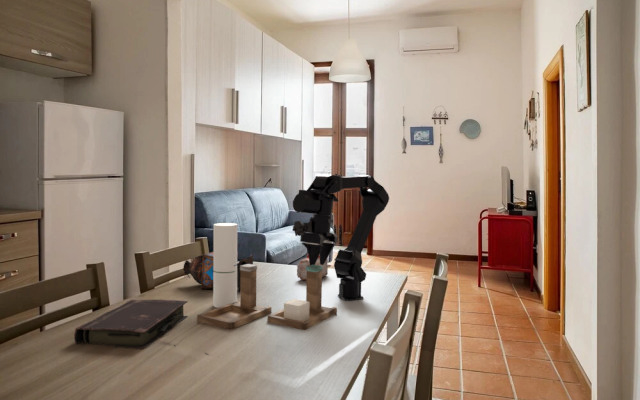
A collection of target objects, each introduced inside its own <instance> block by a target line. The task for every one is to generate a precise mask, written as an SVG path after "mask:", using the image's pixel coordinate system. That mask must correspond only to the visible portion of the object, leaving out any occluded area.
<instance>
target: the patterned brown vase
mask: <svg viewBox="0 0 640 400" xmlns="http://www.w3.org/2000/svg"><path fill="white" fill-rule="evenodd" d="M213 262H214V251H212V252H208V253H204V254H203V253H202V254H201V255H198V256H196V257H195V258H193V260H192V261H190V260H186V259H185V262H184V264H183V268H182V269H183V271H184V274H185V275H186V276H187V277H188V278H189V279H190V278H191V277H192V278H193V279H194V281H195V282H196V283H198V285H200V290H206V289H213V271H214V270H213ZM245 264H252V265H254V256H253V255H252V254H250V256H249V257H247V258H242V259H240V258H238V257H237V291H239V293H240V284H241V270H240V266H242V265H245ZM189 274H190V275H191V276H189Z"/></svg>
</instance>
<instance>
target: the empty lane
mask: <svg viewBox="0 0 640 400" xmlns="http://www.w3.org/2000/svg"><path fill="white" fill-rule="evenodd" d="M240 270H241V284H240V292H239V293H240V298H239V299H240V300H237V301H236V302H233V303H230V304H228V305H225V306H222V307H219V308H216V307H215V308H214V309H213V308H212V309H211V310H208V311H205V312H203V313H199V314H198V315H197V316H196V324H197V325H200V324H202V323H203V324H206V325H211V326H215V327H220V328H224V329H228V330H234V329H236V328H239V327H241V326H244V325H246V324H248V323H250V322H253V321H255V320H258V319H260V318H262V317H264V316H266V315H267V316H268V315H270V314H272V306H265V307H264V306H259V305H257V270H258V265H256V264H253V265H252V264H245V265H242V266H240Z"/></svg>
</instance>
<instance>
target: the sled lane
mask: <svg viewBox="0 0 640 400" xmlns="http://www.w3.org/2000/svg"><path fill="white" fill-rule="evenodd" d="M322 269H323V266H319V265H310V266H307V267H306V271H307V281H306V288H305V289H306V290H305V291H306V297H305V301H308V302H310V303H309V319H308V320H306V321H304V322H302V321H298V320H293V319H288V318H284V308H283V309H280V310H278V311H276V312H274V313H270V314H267V316H266V317H267V318H266V319H267V321H266V322H267V323H270V324H276V325H281V326H285V327H290V328H294V329H298V330H303V331H306V330H308V329H310V328H312V327H314V326H315V325H317V324H320V323H322V322H323V321H325V320H327V319H328V318H330V317H333V316H337V315H338V308H337V307H336V306H332V307H327V306H323V305H322V294H323V293H322V290H323V285H322V284H323V277H322Z"/></svg>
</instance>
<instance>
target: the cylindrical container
mask: <svg viewBox="0 0 640 400" xmlns="http://www.w3.org/2000/svg"><path fill="white" fill-rule="evenodd" d="M213 252H214V262H213V270H214V271H213V288H212V290H213V297H212V298H213V299H212V300H213V302H212V303H213V305H212V306H213V307H215V309H216V308H219V307H222V306H225V305H228V304H230V303H233V302H236V301H238V288H237V263H238V262H237V258H238V223H233V222H221V223H219V222H218V223H213Z"/></svg>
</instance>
